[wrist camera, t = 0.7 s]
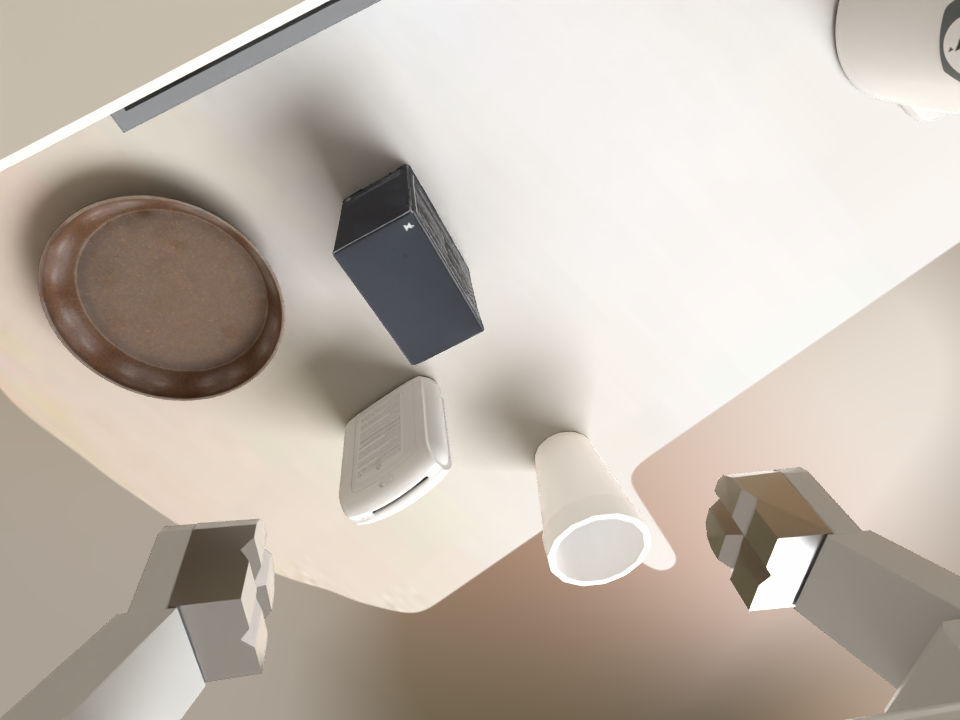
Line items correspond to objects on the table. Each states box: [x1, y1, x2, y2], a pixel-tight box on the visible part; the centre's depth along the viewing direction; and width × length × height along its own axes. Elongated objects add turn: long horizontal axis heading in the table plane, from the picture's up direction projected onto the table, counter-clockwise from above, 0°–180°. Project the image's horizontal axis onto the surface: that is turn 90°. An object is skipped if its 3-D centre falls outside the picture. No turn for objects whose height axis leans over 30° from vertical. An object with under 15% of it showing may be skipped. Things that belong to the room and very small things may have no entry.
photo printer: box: [339, 376, 451, 525], centre depth 54 cm, size 10×4×12 cm, turn 125°
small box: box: [333, 165, 484, 365], centre depth 45 cm, size 11×6×10 cm, turn 27°
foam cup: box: [535, 432, 651, 586], centre depth 59 cm, size 10×9×13 cm
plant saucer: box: [38, 195, 285, 401], centre depth 49 cm, size 18×18×3 cm
